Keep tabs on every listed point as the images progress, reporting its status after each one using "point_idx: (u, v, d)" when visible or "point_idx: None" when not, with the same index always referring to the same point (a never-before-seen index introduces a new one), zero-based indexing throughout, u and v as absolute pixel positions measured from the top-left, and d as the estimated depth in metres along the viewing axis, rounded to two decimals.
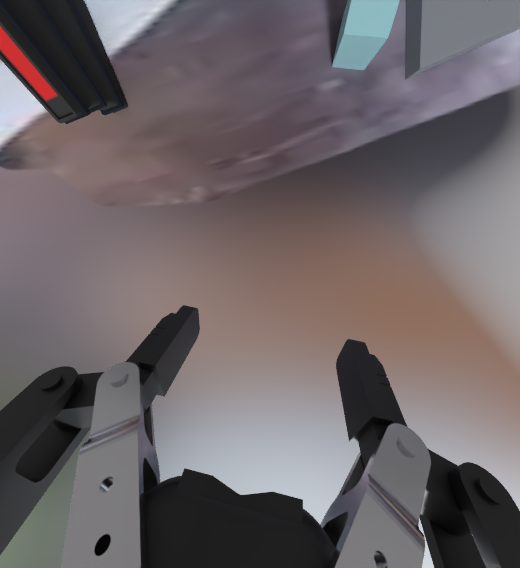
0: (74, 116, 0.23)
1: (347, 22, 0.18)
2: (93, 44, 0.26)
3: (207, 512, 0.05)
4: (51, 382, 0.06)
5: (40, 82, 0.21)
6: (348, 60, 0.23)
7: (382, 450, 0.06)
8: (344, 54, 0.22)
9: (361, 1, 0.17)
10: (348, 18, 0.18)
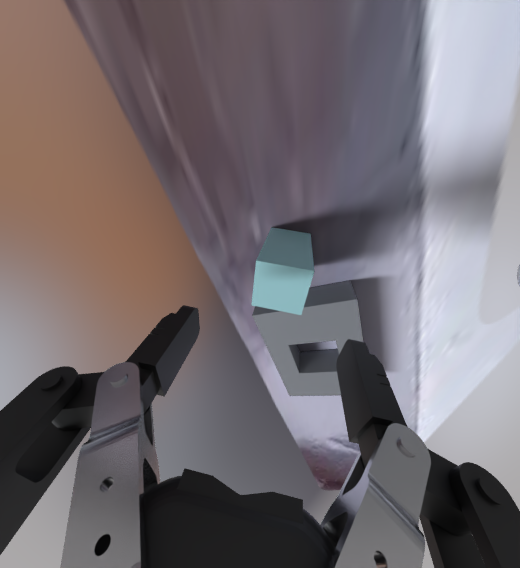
0: None
1: (266, 263, 0.14)
2: None
3: (207, 512, 0.05)
4: (50, 381, 0.06)
5: None
6: None
7: (382, 450, 0.06)
8: None
9: (281, 276, 0.14)
10: (269, 264, 0.14)
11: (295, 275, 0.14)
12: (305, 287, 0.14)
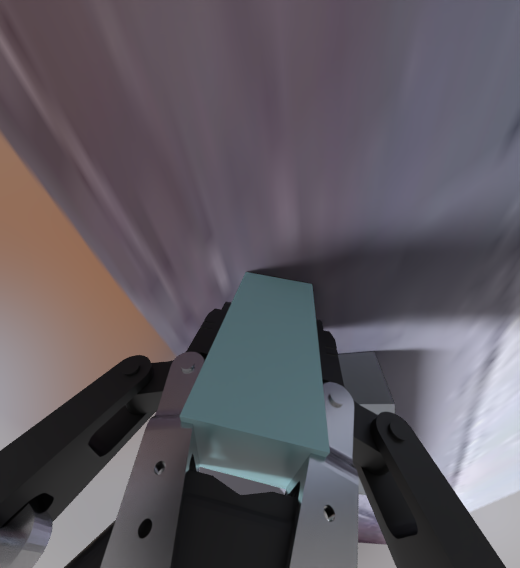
0: None
1: (204, 423, 0.05)
2: None
3: (207, 512, 0.05)
4: (130, 369, 0.07)
5: None
6: None
7: None
8: None
9: (246, 445, 0.06)
10: (213, 426, 0.05)
11: (281, 450, 0.05)
12: None
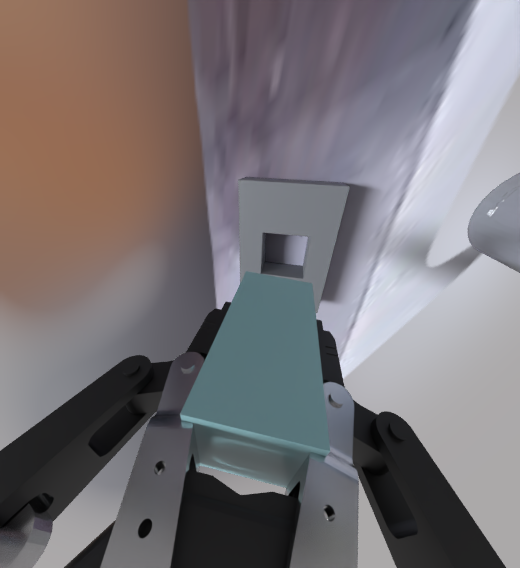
0: None
1: (205, 422, 0.05)
2: None
3: (207, 512, 0.05)
4: (130, 368, 0.07)
5: None
6: None
7: None
8: None
9: (247, 444, 0.06)
10: (213, 424, 0.05)
11: (281, 448, 0.05)
12: None
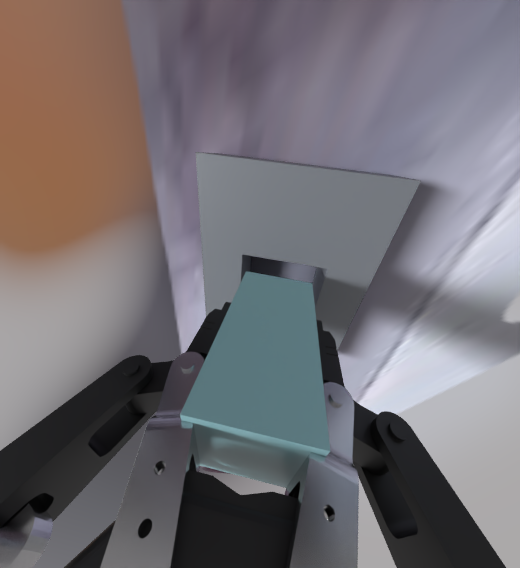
0: None
1: (205, 422, 0.05)
2: None
3: (207, 512, 0.05)
4: (130, 368, 0.07)
5: None
6: None
7: None
8: None
9: (247, 444, 0.06)
10: (213, 424, 0.05)
11: (281, 448, 0.05)
12: None
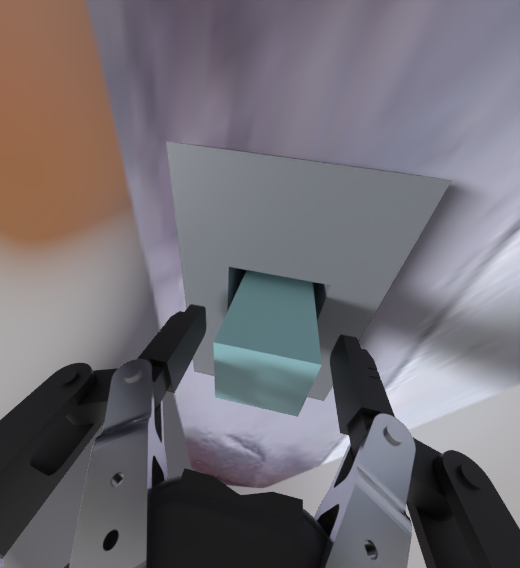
0: None
1: (231, 347, 0.07)
2: None
3: (207, 512, 0.05)
4: (67, 377, 0.06)
5: None
6: None
7: (369, 438, 0.06)
8: None
9: (261, 367, 0.08)
10: (237, 349, 0.07)
11: (287, 367, 0.07)
12: (304, 384, 0.08)
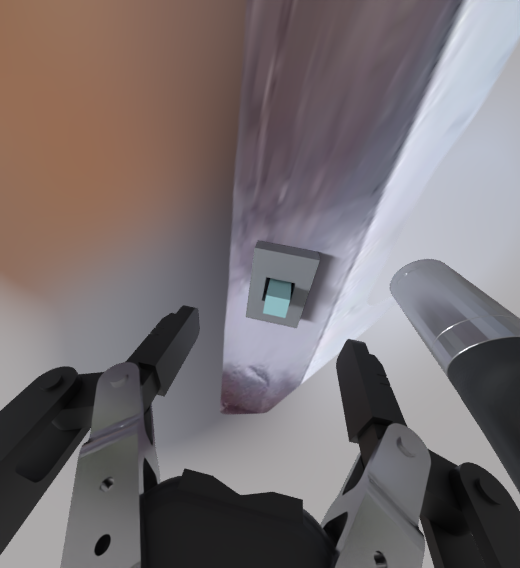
0: None
1: (270, 296, 0.33)
2: None
3: (207, 512, 0.05)
4: (51, 381, 0.06)
5: None
6: None
7: (382, 450, 0.06)
8: None
9: (276, 301, 0.33)
10: (271, 296, 0.33)
11: (282, 301, 0.33)
12: (286, 306, 0.33)
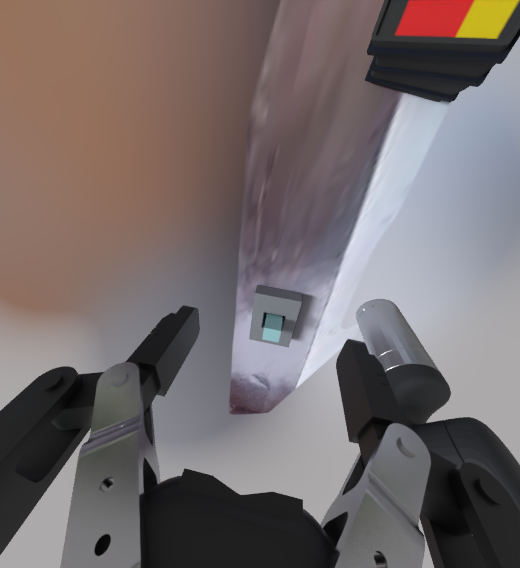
0: (373, 33, 0.19)
1: (266, 328, 0.46)
2: (412, 91, 0.26)
3: (207, 512, 0.05)
4: (50, 381, 0.06)
5: (415, 20, 0.18)
6: None
7: (382, 450, 0.06)
8: None
9: (271, 331, 0.46)
10: (267, 328, 0.46)
11: (275, 331, 0.46)
12: (279, 334, 0.46)
